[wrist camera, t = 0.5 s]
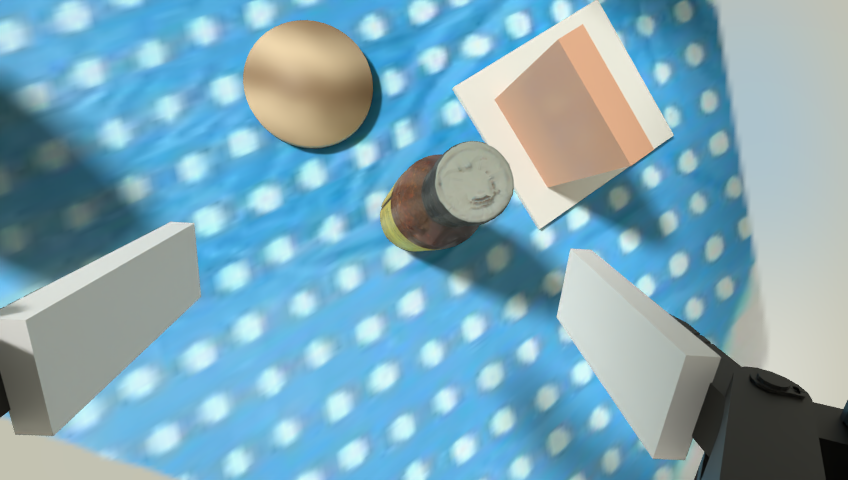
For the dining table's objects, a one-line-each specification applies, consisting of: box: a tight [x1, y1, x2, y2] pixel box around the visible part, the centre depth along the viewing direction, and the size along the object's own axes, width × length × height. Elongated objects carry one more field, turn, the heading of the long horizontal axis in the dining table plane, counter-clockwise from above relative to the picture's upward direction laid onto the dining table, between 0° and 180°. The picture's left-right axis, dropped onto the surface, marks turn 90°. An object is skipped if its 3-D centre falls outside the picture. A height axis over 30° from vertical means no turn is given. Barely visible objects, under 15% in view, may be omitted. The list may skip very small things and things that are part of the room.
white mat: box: [452, 0, 673, 229], centre depth 42 cm, size 18×16×1 cm
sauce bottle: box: [380, 141, 514, 251], centre depth 30 cm, size 6×6×20 cm
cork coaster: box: [243, 20, 373, 149], centre depth 37 cm, size 11×11×1 cm
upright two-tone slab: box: [495, 24, 654, 187], centre depth 35 cm, size 2×10×12 cm, turn 33°
